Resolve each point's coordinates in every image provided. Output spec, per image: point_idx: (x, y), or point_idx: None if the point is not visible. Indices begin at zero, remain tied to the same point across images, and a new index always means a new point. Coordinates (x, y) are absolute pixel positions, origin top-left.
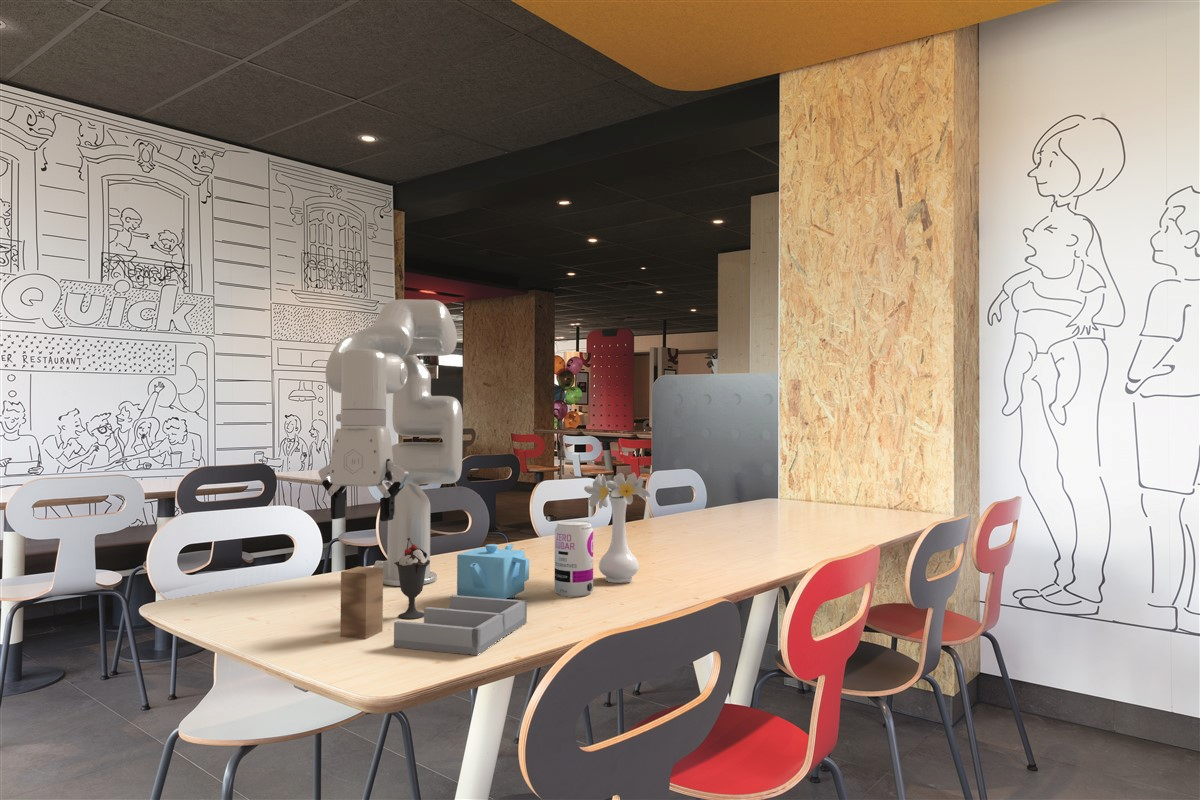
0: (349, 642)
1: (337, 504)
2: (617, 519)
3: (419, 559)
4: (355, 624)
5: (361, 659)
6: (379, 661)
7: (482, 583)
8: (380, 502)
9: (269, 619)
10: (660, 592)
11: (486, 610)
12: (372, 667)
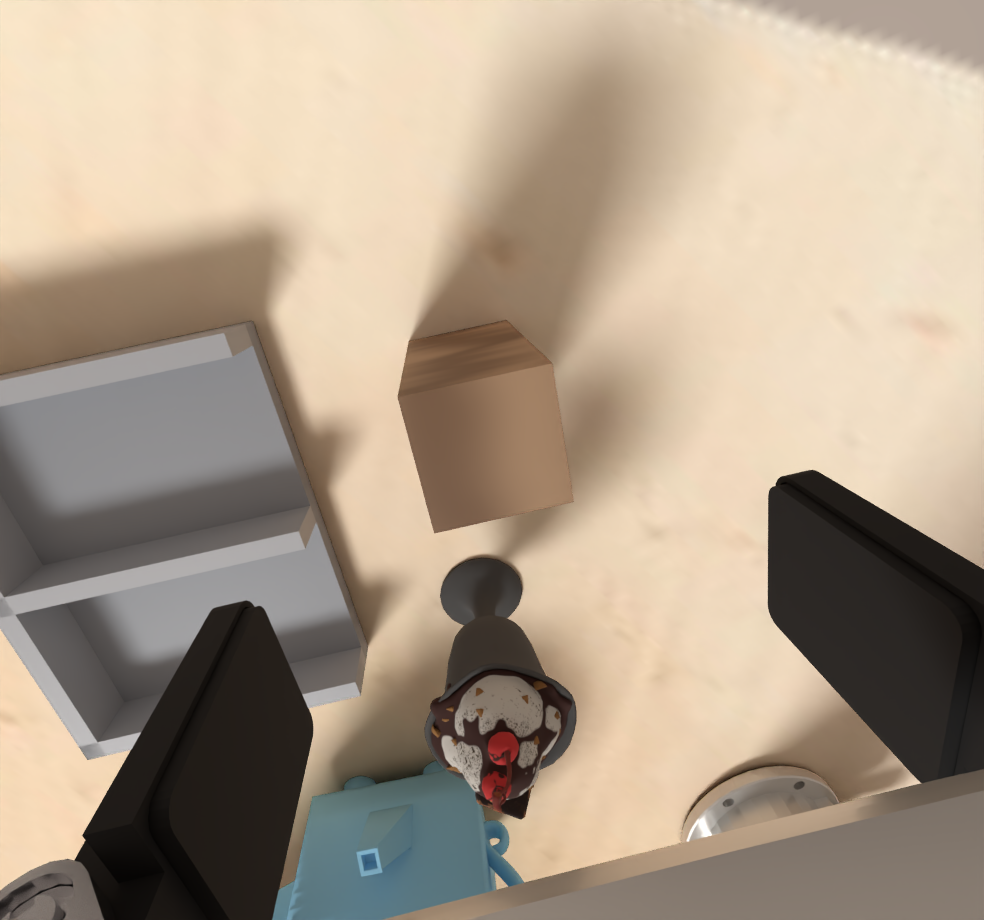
0: (426, 285)
1: (870, 593)
2: None
3: (457, 742)
4: (450, 340)
5: (225, 152)
6: (152, 167)
7: (370, 818)
8: (181, 761)
9: (866, 347)
10: None
11: None
12: (109, 96)
